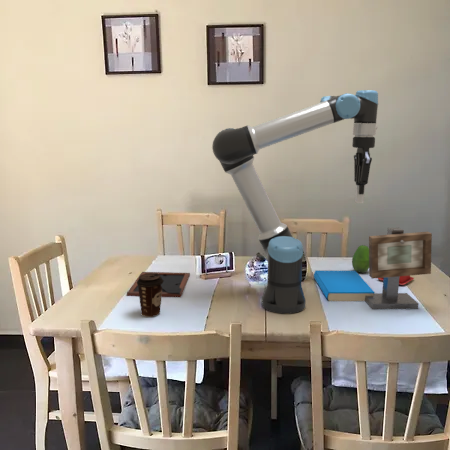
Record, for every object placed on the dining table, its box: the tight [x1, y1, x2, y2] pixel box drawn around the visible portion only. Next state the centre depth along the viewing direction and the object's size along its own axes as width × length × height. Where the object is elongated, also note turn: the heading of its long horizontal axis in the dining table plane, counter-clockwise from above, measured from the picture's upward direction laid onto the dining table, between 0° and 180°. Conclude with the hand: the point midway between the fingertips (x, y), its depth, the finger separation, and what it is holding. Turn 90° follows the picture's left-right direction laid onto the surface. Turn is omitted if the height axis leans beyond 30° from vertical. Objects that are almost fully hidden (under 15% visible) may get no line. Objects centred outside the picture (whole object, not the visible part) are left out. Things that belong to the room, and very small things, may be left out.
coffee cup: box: [137, 273, 163, 318], centre depth 157 cm, size 9×8×13 cm
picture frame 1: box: [126, 271, 191, 298], centre depth 185 cm, size 20×2×25 cm
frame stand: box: [364, 227, 420, 310], centre depth 165 cm, size 16×10×27 cm, turn 92°
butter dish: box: [377, 275, 415, 286], centre depth 192 cm, size 12×12×8 cm
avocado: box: [351, 244, 369, 274], centre depth 202 cm, size 8×8×12 cm
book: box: [313, 270, 375, 302], centre depth 182 cm, size 17×4×25 cm
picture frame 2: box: [368, 231, 433, 280], centre depth 160 cm, size 20×4×14 cm, turn 92°
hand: (359, 202), depth 171 cm, fingers closed
